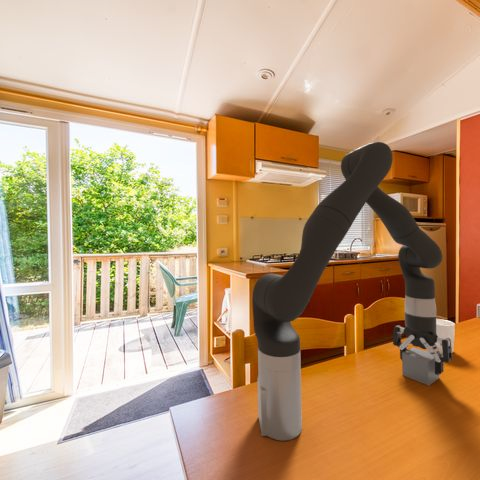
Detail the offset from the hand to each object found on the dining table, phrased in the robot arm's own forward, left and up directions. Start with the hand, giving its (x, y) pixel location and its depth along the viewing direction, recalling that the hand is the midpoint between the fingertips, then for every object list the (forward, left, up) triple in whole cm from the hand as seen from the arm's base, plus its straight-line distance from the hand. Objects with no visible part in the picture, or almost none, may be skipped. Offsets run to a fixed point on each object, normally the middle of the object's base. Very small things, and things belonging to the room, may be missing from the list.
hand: (420, 367), depth 75 cm
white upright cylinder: (+20, +16, -3) cm, 25 cm away
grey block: (0, 0, -3) cm, 3 cm away
